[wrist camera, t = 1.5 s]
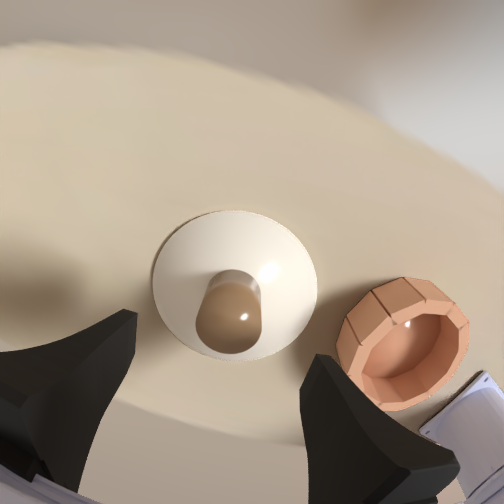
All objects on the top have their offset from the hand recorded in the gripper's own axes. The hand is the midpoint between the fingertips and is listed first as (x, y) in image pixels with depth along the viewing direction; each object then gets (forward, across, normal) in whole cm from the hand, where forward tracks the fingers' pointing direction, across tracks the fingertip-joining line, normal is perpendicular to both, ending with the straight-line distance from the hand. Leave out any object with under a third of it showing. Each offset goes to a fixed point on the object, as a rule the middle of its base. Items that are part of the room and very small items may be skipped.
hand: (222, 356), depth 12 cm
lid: (+6, 0, 0) cm, 6 cm away
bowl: (+6, -11, +1) cm, 12 cm away
